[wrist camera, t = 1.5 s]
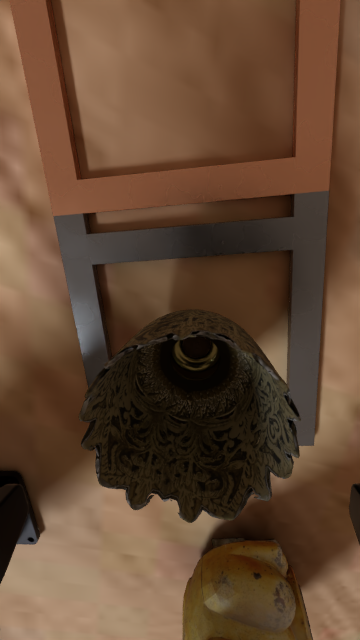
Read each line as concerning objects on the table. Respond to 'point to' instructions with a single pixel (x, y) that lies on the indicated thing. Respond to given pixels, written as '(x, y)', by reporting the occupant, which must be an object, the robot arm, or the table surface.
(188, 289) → the table surface
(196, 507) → the dark ridged bell shape
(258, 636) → the decorative figurine
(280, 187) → the rectangular frame
